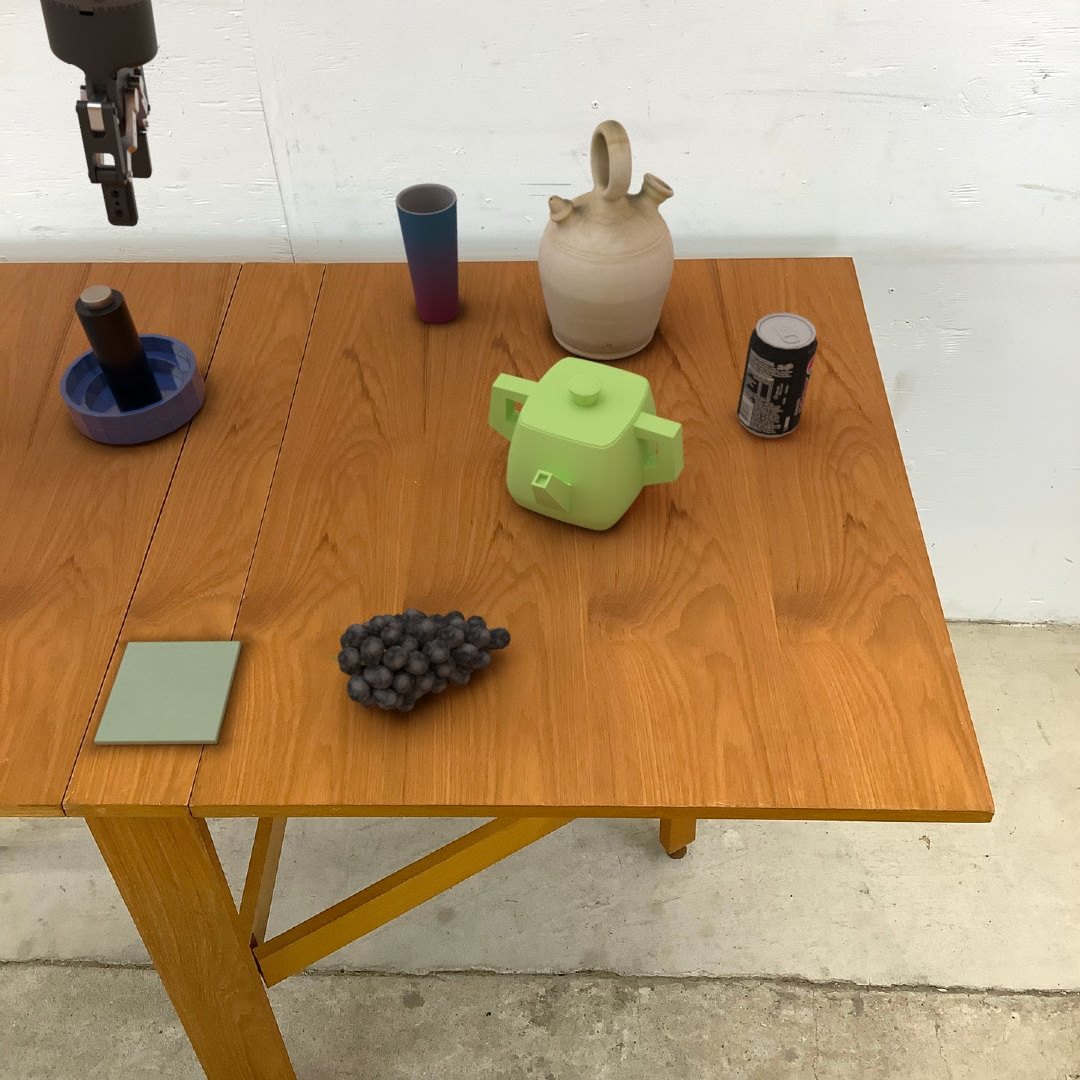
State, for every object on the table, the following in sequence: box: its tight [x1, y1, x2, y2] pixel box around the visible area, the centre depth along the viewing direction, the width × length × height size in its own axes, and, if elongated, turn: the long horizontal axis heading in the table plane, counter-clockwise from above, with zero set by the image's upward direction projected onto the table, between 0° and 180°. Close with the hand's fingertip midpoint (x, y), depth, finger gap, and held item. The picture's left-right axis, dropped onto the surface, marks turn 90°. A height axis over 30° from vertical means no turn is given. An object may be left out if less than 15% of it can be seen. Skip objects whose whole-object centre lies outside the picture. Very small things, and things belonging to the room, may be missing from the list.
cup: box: [395, 182, 460, 325], centre depth 115 cm, size 7×7×15 cm
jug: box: [537, 119, 675, 361], centre depth 108 cm, size 15×16×25 cm
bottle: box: [74, 284, 162, 412], centre depth 104 cm, size 5×5×14 cm
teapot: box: [487, 356, 685, 531], centre depth 94 cm, size 18×20×13 cm
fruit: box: [330, 608, 512, 713], centre depth 81 cm, size 9×8×15 cm
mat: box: [93, 640, 243, 746], centre depth 84 cm, size 10×10×1 cm
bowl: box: [59, 333, 207, 445], centre depth 108 cm, size 14×14×4 cm
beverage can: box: [736, 311, 819, 439], centre depth 101 cm, size 7×7×12 cm
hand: (132, 199), depth 82 cm, fingers open, 8 cm apart
